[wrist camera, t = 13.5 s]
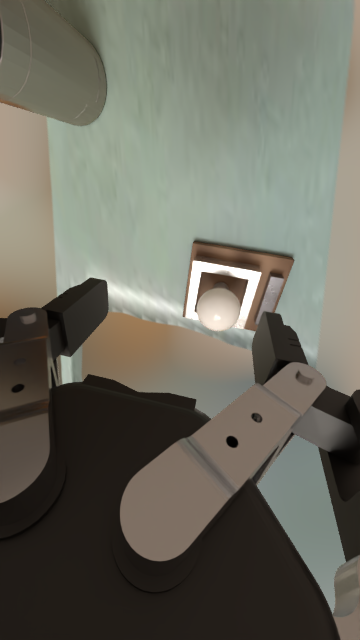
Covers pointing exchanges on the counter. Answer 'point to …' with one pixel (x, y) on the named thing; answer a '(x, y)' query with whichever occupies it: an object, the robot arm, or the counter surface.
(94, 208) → the counter surface
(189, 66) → the counter surface
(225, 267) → the jig
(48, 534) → the robot arm
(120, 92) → the counter surface
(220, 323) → the lightbulb
